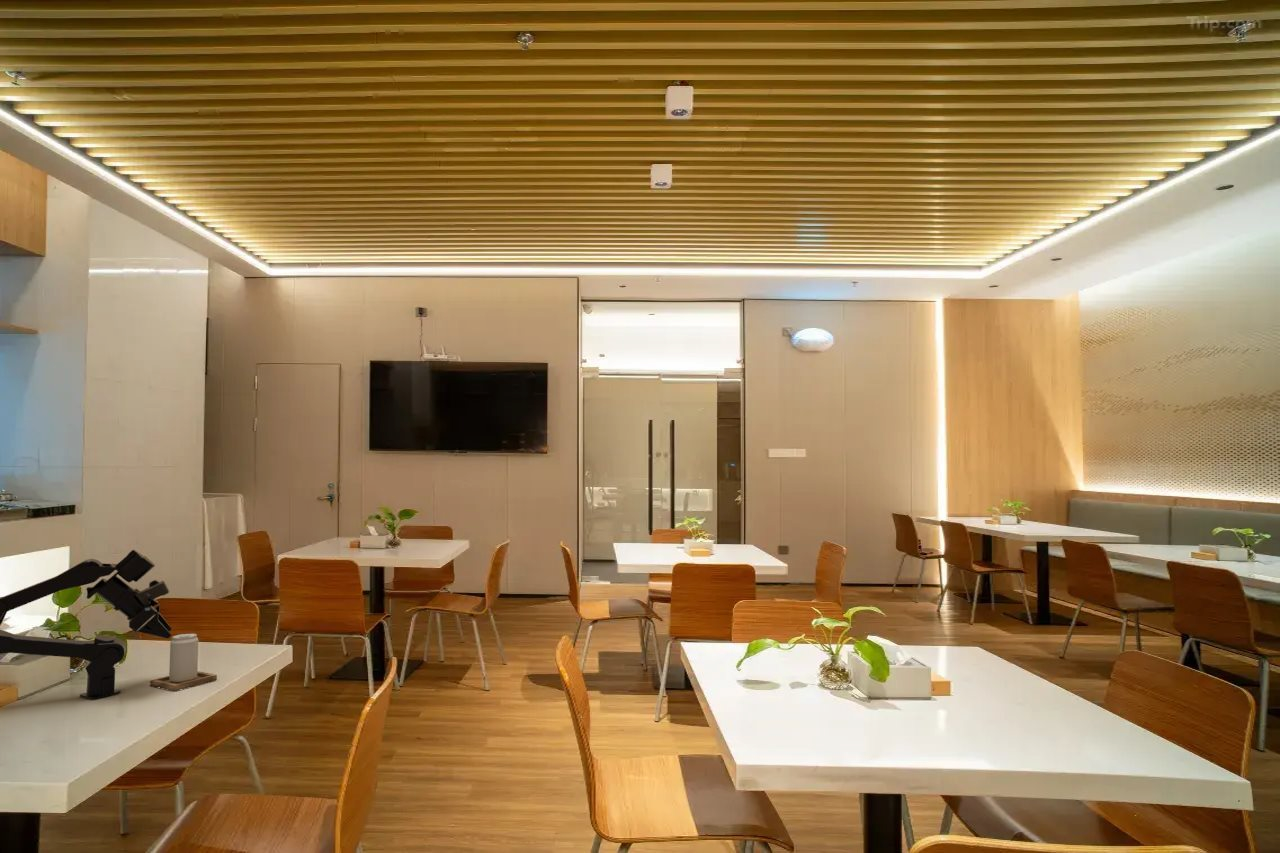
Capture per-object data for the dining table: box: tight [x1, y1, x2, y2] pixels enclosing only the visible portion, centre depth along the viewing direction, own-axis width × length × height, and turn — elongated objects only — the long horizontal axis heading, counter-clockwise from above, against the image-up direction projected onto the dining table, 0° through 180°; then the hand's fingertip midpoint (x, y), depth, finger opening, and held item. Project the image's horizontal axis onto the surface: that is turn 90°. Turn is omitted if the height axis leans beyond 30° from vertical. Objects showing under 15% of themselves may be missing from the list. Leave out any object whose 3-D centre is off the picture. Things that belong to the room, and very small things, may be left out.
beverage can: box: [168, 633, 199, 684], centre depth 192 cm, size 6×6×12 cm
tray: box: [149, 670, 218, 692], centre depth 192 cm, size 11×11×2 cm
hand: (170, 633), depth 191 cm, fingers open, 9 cm apart
